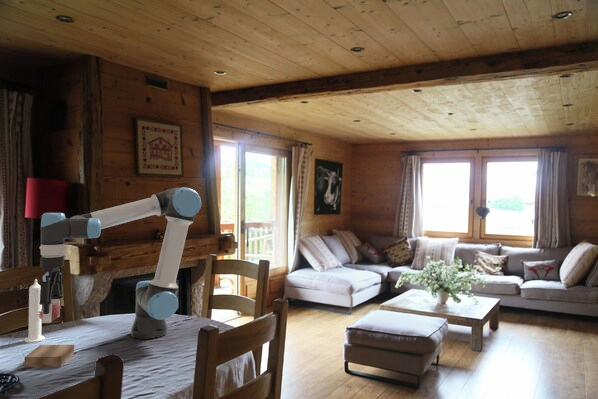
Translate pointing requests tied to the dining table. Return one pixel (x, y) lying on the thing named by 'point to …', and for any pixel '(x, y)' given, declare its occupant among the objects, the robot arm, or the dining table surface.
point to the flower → (54, 312)
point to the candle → (34, 314)
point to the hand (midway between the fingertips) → (51, 319)
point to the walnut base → (49, 356)
